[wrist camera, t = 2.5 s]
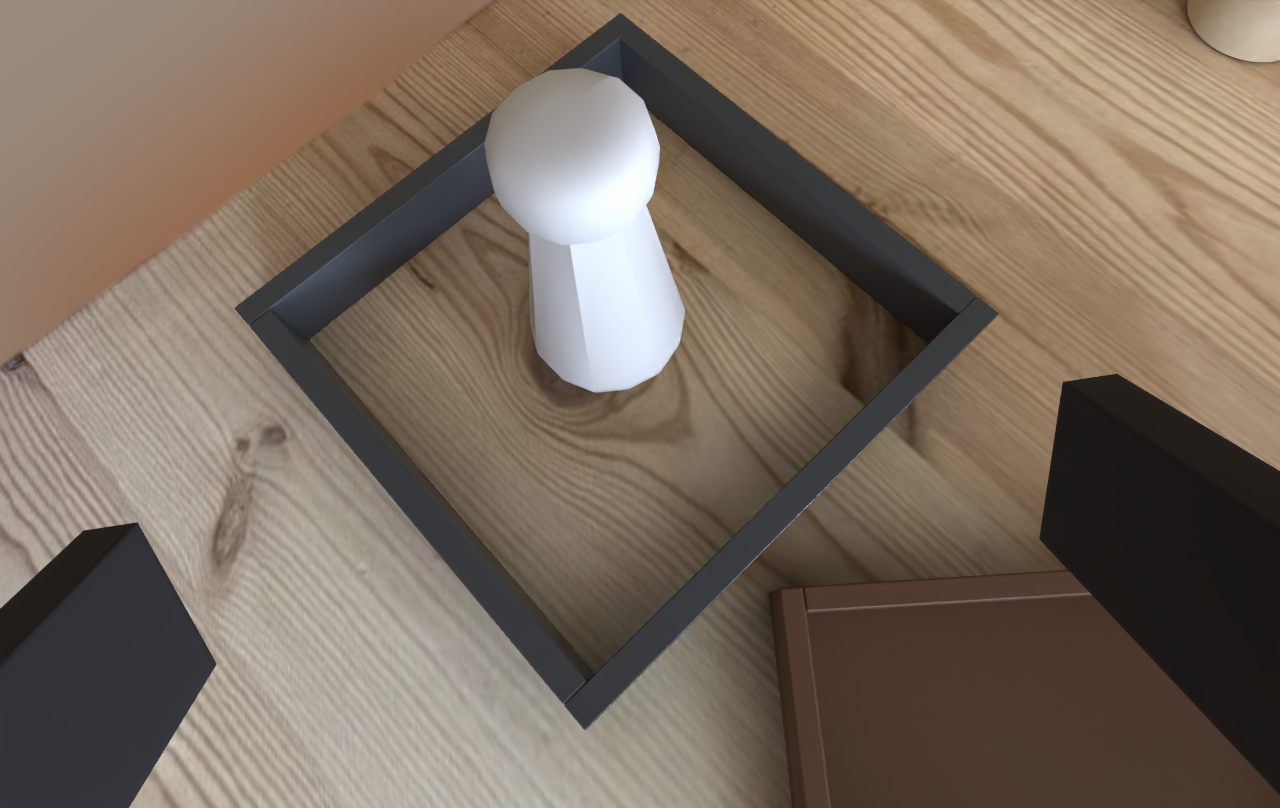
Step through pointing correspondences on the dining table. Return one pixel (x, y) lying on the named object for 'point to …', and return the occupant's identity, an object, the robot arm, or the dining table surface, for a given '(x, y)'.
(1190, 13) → the candle
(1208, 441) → the robot arm
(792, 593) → the tray
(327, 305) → the open gray frame
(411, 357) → the dining table surface
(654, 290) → the salt shaker
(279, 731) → the dining table surface
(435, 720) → the dining table surface
